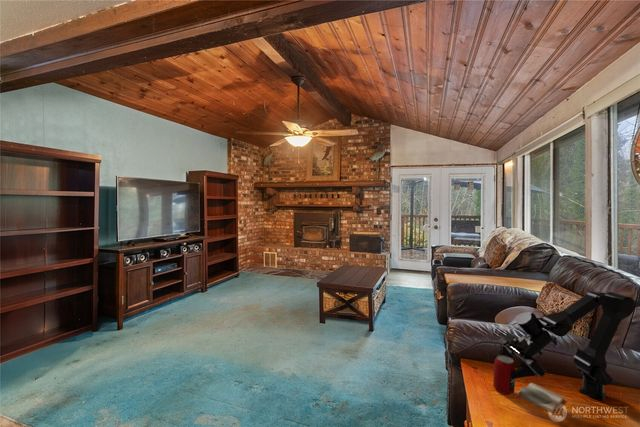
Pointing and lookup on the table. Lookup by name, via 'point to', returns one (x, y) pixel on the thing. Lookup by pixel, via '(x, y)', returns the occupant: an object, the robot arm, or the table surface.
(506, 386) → the beverage can
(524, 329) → the robot arm
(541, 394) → the birch board
